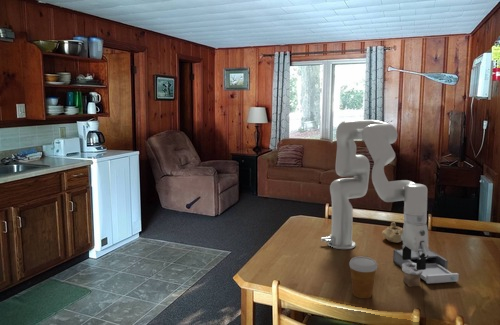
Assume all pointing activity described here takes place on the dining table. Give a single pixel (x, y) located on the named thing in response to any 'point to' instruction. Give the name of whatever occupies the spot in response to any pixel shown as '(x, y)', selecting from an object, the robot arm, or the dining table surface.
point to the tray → (438, 274)
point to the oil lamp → (393, 233)
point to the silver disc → (411, 268)
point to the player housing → (430, 259)
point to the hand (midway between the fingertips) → (413, 264)
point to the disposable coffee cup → (363, 276)
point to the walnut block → (412, 279)
